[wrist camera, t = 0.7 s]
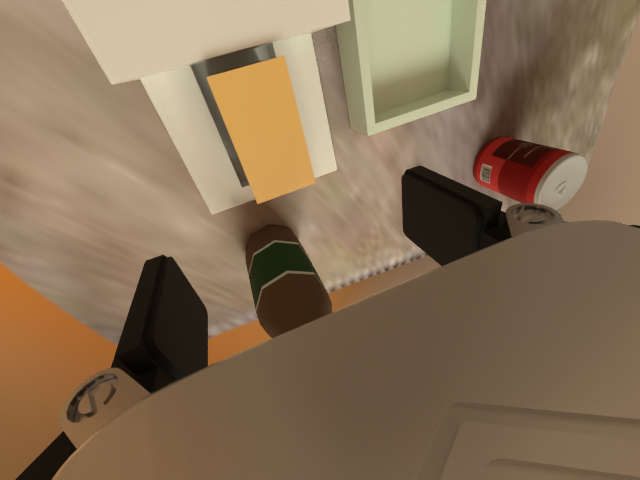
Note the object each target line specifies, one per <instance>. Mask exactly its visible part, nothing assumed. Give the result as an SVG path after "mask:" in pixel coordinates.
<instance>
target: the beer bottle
mask: <svg viewBox="0 0 640 480" xmlns="http://www.w3.org/2000/svg"><path fill="white" fill-rule="evenodd" d="M246 265H247V269H248V274H249V279H250V284H251V289H252V294H253V299H254V303H255V308H256V313H257V316H258V319H259V322H260V325H261V326H262V327H263V328H264V330H265V331H266V332H267V333H268V335H269V336H270V337H271V338H274V337H277V336H279V335H281V334H284V333H286V332H288V331H291V330H293V329H295V328H298V327H300V326H302V325H305V324H307V323H309V322H311V321H314V320H316V319H318V318H321V317H323V316H325V315H328V314H330V313H332V304H331V300H330V298H329V295H328V293H327V291H326V289H325V287H324V285H323V283H322V281H321V280H320V278H319V276H318V274H317V272H316V270H315V268H314V267H313V265H312V263H311V261H310V259H309V257H308V256H307V254H306V252H305V250H304V248H303V247H302V245H301V244H300V242H299V241H298V239H297V238H296V236H295V235H294V234H293V232H292V231H291V229H290V228H288V227H280V226H272V225H267V226H266V227H264V228H263V229H261V230H260V231H258V232H256V233H255V234H253V235H252V236H250V238H249V242H248V247H247V251H246Z"/></svg>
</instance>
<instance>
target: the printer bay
mask: <svg viewBox="0 0 640 480" xmlns="http://www.w3.org/2000/svg"><path fill="white" fill-rule="evenodd" d="M62 1H63V3H64V5H65V6H66V8H67V10H68V11H69V13H70V15H71V17H72V18H73V20H74V22H75V23H76V25H77V27H78V28H79V30H80V32H81V33H82V35H83V37H84V39H85V40H86V42H87V44H88V45H89V47H90V49H91V50H92V52H93V54H94V56H95V57H96V59H97V61H98V62H99V64H100V66H101V67H102V69H103V71H104V72H105V74H106V76H107V78H108V79H109V81H110V83H111V84H118V83H123V82H129V81H134V80H139V79H140V80H141V82H142V84H143V86H144V88H145V90H146V91H147V93H148V95H149V97H150V99H151V101H152V103H153V105H154V107H155V108H156V110H157V112H158V114H159V116H160V118H161V120H162V122H163V124H164V125H165V127H166V129H167V131H168V133H169V135H170V137H171V139H172V140H173V142H174V144H175V146H176V148H177V150H178V152H179V154H180V156H181V157H182V159H183V161H184V163H185V165H186V167H187V169H188V171H189V173H190V174H191V176H192V178H193V180H194V182H195V184H196V186H197V188H198V190H199V191H200V193H201V195H202V197H203V199H204V201H205V203H206V205H207V206H208V208H209V210H210V212H211V214H212V215H213V214H216V213H219V212H221V211H224V210H227V209H230V208H233V207H235V206H238V205H241V204H244V203H246V202H249V201H252V200H255V197H254V194H253V192H252V189H251V187H250V184H249V182H248V179H247V177H246V174H245V172H244V169H243V167H242V164H241V162H240V160H239V157H238V155H237V152H236V150H235V147H234V145H233V142H232V140H231V137H230V135H229V132H228V130H227V127H226V125H225V122H224V120H223V117H222V115H221V113H220V110H219V108H218V105H217V103H216V100H215V98H214V95H213V93H212V90H211V88H210V85H209V83H208V80H207V78H206V77H208V75H210V74H213V73H217V72H221V71H224V70H228V69H231V68H235V67H238V66H242V65H246V64H249V63H253V62H256V61H260V60H268V59H272V58H276V57H279V56H284V55H285V59H286V63H287V67H288V72H289V76H290V80H291V84H292V88H293V92H294V96H295V100H296V104H297V108H298V112H299V116H300V120H301V124H302V128H303V132H304V136H305V140H306V144H307V148H308V152H309V157H310V161H311V165H312V169H313V173H314V177H315V178H316V177H319V176H322V175H324V174H327V173H330V172H333V171H336V170H337V167H336V161H335V156H334V151H333V146H332V141H331V135H330V130H329V125H328V120H327V115H326V109H325V104H324V99H323V94H322V88H321V83H320V78H319V73H318V68H317V62H316V57H315V52H314V47H313V42H312V36H311V33H313V32H316V31H319V30H322V29H325V28H328V27H331V26H334V25H337V24H340V23H343V22H346V21H350V20H351V19H350V11H349V3H348V0H62Z"/></svg>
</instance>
